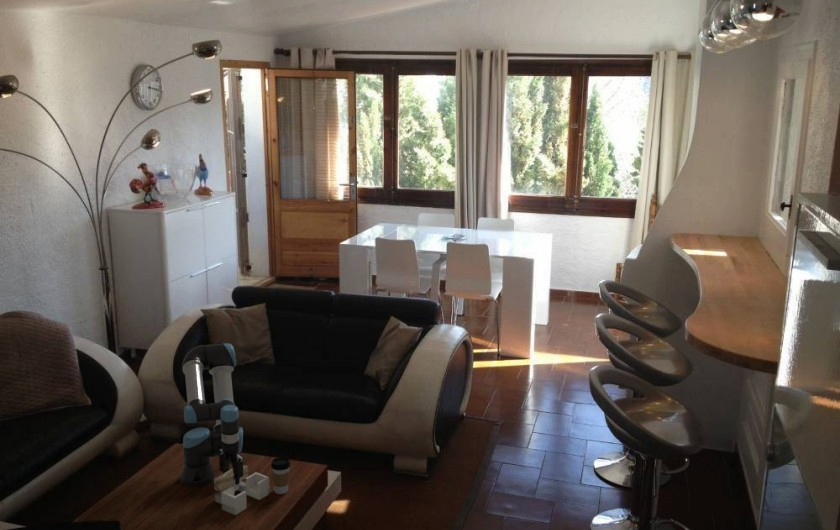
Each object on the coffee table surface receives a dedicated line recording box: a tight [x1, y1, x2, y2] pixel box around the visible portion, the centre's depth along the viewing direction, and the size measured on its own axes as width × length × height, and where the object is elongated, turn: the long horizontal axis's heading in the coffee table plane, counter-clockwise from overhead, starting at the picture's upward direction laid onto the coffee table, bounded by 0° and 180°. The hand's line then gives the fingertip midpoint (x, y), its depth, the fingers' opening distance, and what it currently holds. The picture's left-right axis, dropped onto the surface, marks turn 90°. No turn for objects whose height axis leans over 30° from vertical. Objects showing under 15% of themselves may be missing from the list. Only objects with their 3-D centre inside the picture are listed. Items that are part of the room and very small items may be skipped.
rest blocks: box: [214, 480, 246, 505], centre depth 330 cm, size 5×15×3 cm, turn 149°
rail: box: [213, 464, 249, 493], centre depth 329 cm, size 4×16×5 cm, turn 149°
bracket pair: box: [221, 472, 271, 516], centre depth 325 cm, size 8×21×8 cm, turn 149°
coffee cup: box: [270, 456, 291, 495], centre depth 334 cm, size 8×8×15 cm
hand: (231, 488), depth 330 cm, fingers closed on rail, 4 cm apart
